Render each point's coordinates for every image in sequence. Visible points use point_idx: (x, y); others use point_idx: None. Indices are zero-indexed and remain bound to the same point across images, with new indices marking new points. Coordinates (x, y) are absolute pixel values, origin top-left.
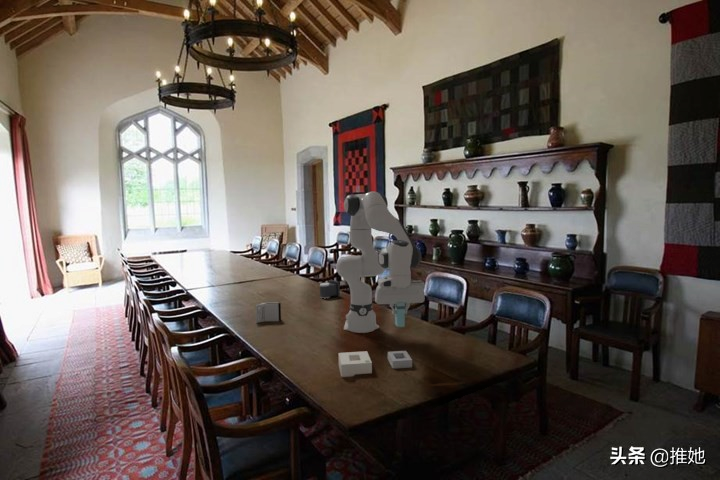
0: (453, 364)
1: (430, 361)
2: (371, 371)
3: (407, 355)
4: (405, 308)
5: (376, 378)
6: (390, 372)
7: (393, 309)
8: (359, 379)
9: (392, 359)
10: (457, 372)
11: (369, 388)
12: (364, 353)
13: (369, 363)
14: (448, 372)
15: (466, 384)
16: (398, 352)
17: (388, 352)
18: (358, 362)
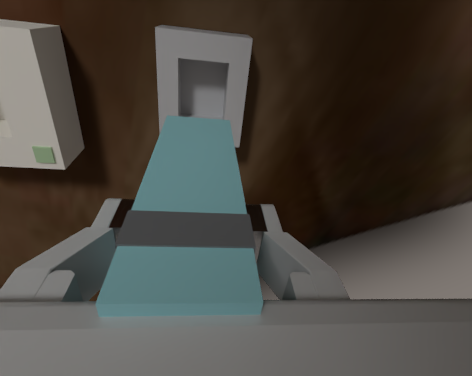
0: (387, 129)
1: (332, 84)
2: (77, 153)
3: (238, 99)
4: (265, 255)
5: (100, 172)
6: (153, 142)
7: (99, 279)
8: (41, 168)
9: (162, 126)
10: (356, 182)
11: (78, 221)
12: (18, 60)
13: (56, 167)
14: (332, 178)
15: (329, 239)
16: (208, 51)
17: (158, 38)
18: (4, 157)
